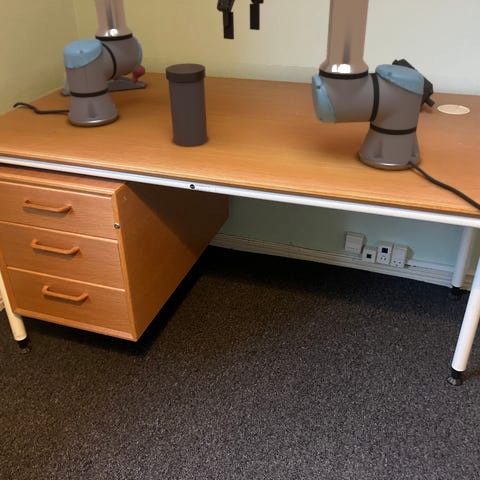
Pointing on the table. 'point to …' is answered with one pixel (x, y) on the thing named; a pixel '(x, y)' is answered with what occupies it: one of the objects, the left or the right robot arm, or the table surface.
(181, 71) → the lid
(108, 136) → the table surface
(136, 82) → the hand plane
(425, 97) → the tool
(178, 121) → the jar
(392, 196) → the table surface
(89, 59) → the left robot arm
